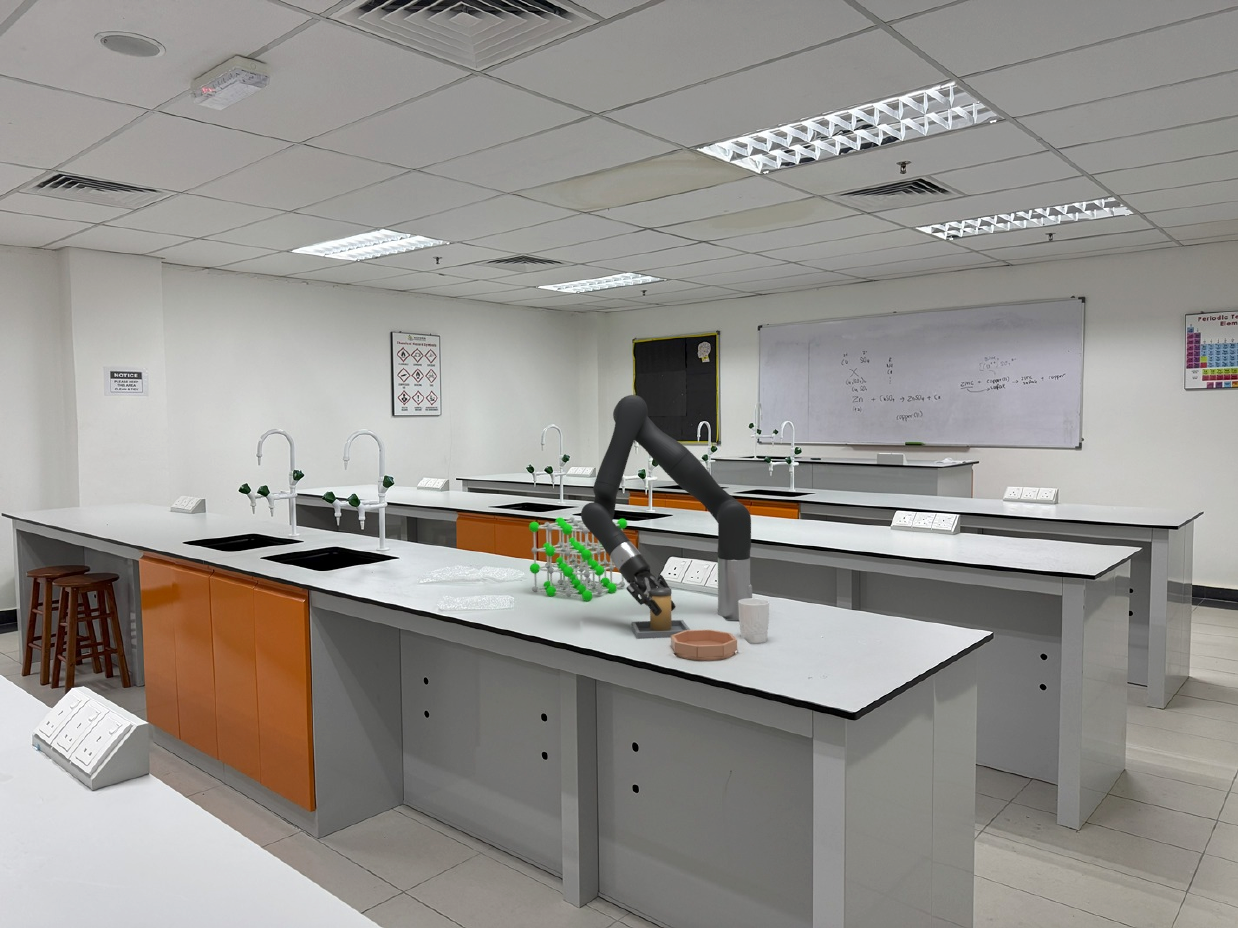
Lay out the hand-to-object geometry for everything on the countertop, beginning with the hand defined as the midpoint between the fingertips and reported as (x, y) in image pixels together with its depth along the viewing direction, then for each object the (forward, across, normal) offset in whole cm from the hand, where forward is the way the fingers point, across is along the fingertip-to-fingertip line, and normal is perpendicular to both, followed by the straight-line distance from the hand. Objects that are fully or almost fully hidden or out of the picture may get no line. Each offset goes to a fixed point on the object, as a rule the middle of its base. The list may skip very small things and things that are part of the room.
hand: (666, 611), depth 215 cm
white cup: (+19, +10, -9) cm, 24 cm away
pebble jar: (+2, 0, +5) cm, 5 cm away
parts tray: (+3, 0, +6) cm, 7 cm away
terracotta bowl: (+16, -6, -6) cm, 18 cm away
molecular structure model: (-36, +30, +46) cm, 66 cm away
